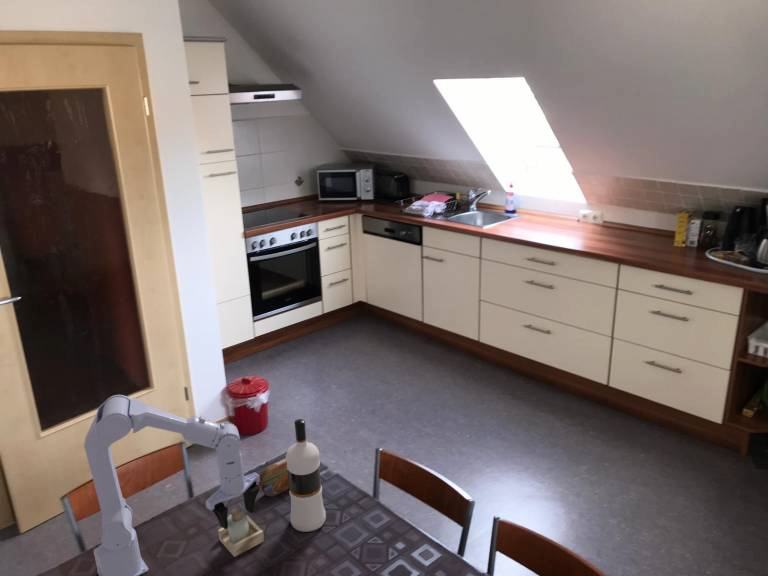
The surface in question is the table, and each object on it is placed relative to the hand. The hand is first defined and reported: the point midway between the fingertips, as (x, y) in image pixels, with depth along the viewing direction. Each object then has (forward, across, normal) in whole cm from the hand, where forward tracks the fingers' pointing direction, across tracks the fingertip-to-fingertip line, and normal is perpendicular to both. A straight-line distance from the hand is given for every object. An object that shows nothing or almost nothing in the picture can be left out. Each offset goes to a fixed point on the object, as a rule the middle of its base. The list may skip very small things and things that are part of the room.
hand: (237, 518), depth 154 cm
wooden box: (+7, 0, 0) cm, 7 cm away
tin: (+7, -22, -8) cm, 24 cm away
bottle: (+6, 0, 0) cm, 6 cm away
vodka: (+7, -16, +8) cm, 19 cm away
